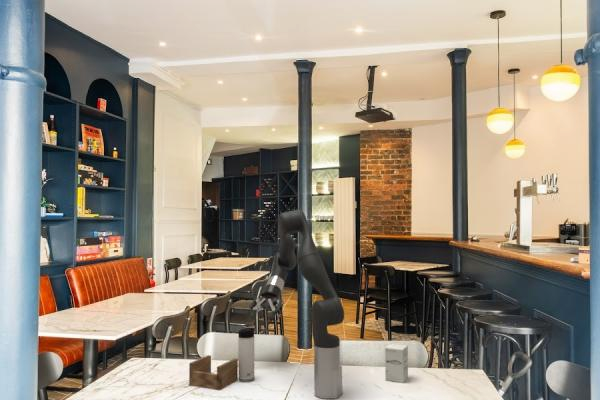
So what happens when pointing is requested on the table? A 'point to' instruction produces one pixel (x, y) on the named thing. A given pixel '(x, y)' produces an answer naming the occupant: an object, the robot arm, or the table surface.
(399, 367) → the supplement box
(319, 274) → the robot arm
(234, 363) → the cradle
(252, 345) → the travel mug
